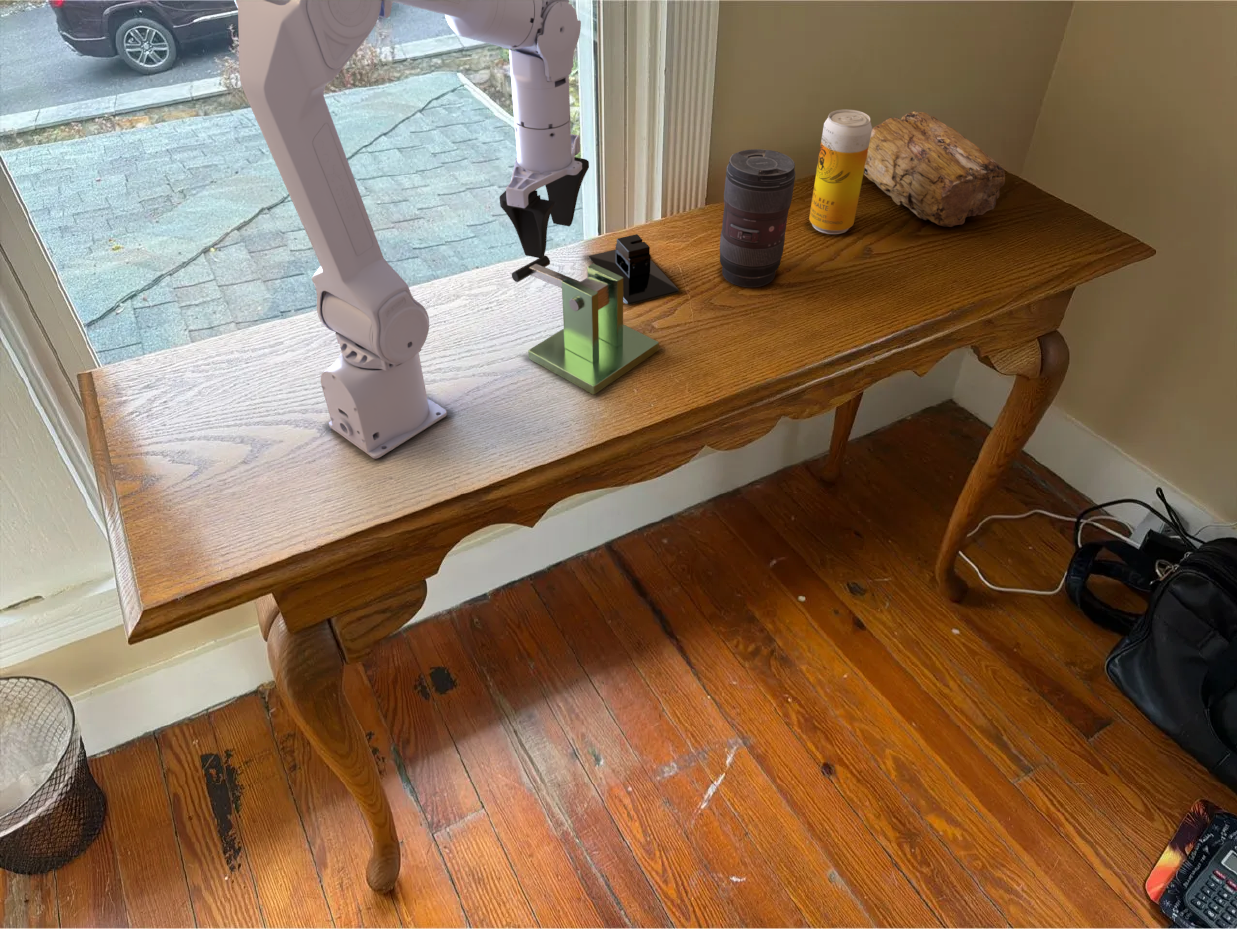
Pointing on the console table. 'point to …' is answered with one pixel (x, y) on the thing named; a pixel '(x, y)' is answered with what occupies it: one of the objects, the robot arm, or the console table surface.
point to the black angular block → (635, 270)
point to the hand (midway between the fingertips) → (548, 239)
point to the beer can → (840, 170)
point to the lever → (560, 278)
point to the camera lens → (755, 215)
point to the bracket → (593, 336)
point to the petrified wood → (932, 169)
